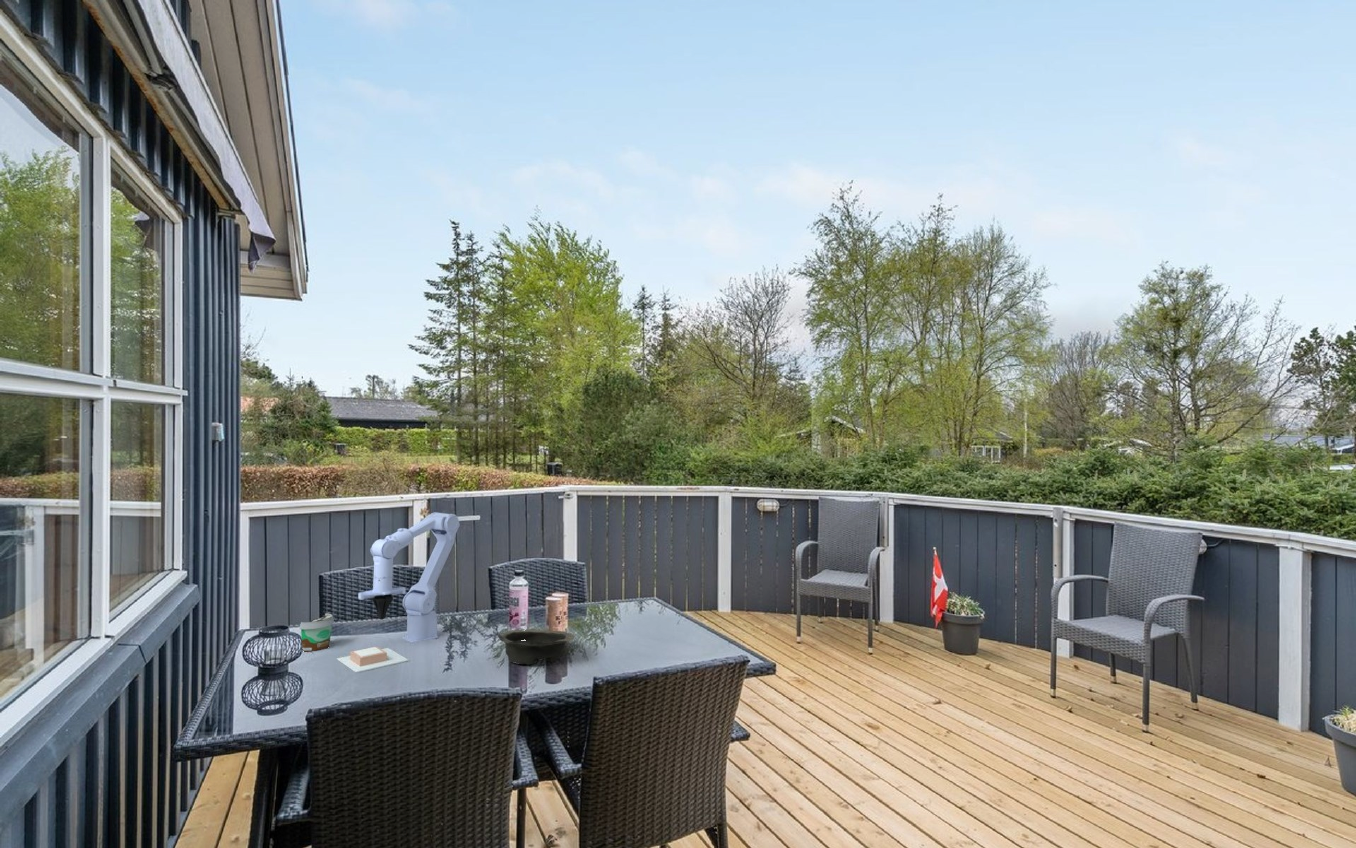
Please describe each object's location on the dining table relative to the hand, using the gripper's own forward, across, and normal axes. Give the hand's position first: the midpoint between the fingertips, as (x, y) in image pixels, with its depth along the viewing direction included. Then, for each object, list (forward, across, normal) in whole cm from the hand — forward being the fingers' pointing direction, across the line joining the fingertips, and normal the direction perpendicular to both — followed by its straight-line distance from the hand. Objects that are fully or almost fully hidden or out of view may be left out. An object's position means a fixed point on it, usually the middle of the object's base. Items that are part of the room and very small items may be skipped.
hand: (381, 618), depth 224 cm
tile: (+9, -3, -8) cm, 12 cm away
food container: (+11, -14, +14) cm, 22 cm away
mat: (+10, -6, -8) cm, 14 cm away
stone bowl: (+10, +34, -38) cm, 52 cm away
